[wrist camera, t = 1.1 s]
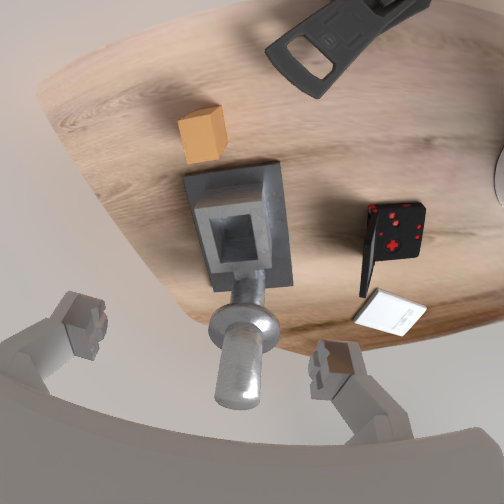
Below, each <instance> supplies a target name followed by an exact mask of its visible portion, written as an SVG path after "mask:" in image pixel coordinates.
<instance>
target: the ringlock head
mask: <svg viewBox="0 0 504 504" xmlns="http://www.w3.org/2000/svg"><path fill="white" fill-rule="evenodd" d="M183 181H184V185H185V188H186V192H187V196H188V200H189V204H190V208H191V212H192V215H193V219H194V223H195V227H196V230H197V234H198V238H199V241H200V245H201V249H202V252H203V256H204V259H205V263H206V266H207V270H208V273H209V277H210V280H211V284H212V287H213V290H214V292H225V291H232V292H231V298H230V304H227V305H224V306H222V307H220V308H219V309H217V310H216V311H215V312H214V313H213V315H212V317H211V319H210V323H209V329H208V332H209V336H210V338H211V340H212V342H213V343H214V344H215V345H216V346H217V347H219V348H220V349H222V353H221V360H220V366H219V372H218V378H217V385H216V391H215V401H216V402H217V403H218V404H220V405H221V406H223V407H226V408H229V409H233V410H248V409H252V408H254V407H256V406H257V405H258V404H259V403H260V387H261V366H262V354H263V353H266V352H268V351H270V350H271V349H272V348H274V347H275V346H276V344H277V343H278V341H279V338H280V325H279V321H278V319H277V318H276V316H275V315H274V314H273V313H272V312H271V311H270V310H268V309H267V308H265V307H264V303H265V288H276V287H288V286H293V275H292V264H291V254H290V244H289V235H288V226H287V217H286V208H285V199H284V191H283V182H282V174H281V166H280V161H278V162H269V163H260V164H252V165H244V166H237V167H230V168H223V169H216V170H209V171H203V172H197V173H191V174H185V175H184V176H183Z"/></svg>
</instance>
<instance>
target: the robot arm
mask: <svg viewBox="0 0 504 504" xmlns="http://www.w3.org/2000/svg"><path fill="white" fill-rule="evenodd" d="M495 190H496V194H497V198H498V200H499V202H500V203H501V205H502V206H503V207H504V149H503V151H502V153H501V155H500V157H499V160H498V163H497V167H496V172H495ZM105 308H106V307H105V302H104V301H103V300H101V299H97V298H93V297H90V296H87V295H83V294H79V293H76V292H72V291H68V292H67V293H66V294H65V295H64V297H63V298H62V300H61V301H60V303H59V304H58V306H57V307H56V309H55V310H54V312H53V314H52V315H51V317H50V318H49V319H48V318H45V319H43V320H41V321H40V322H38V323H36V324H34V325H32V326H30V327H28V328H26V329H24V330H22V331H21V332H19V333H17V334H15V335H13V336H11V337H9V338H8V339H6V340H4V341H2V342H1V343H0V504H504V456H503V453H502V450H501V448H500V446H499V445H498V444H497V443H496V442H495V441H494V440H493V439H492V438H491V437H490V436H489V435H488V434H487V433H486V432H485V431H484V430H483V429H481V428H479V427H474V428H468V429H464V430H460V431H455V432H451V433H446V434H441V435H435V436H429V437H422V438H416V439H414V437H413V433H412V430H411V425H410V422H409V418H408V415H407V412H406V411H405V410H404V409H403V408H402V407H401V406H400V405H399V404H398V403H397V402H396V401H395V400H394V399H393V398H392V397H391V396H390V395H389V394H388V393H387V392H386V391H385V390H384V389H383V388H382V387H381V386H380V385H379V384H378V382H377V381H376V380H375V379H374V378H373V377H372V376H369V375H367V371H366V368H365V364H364V361H363V357H362V353H361V350H360V346H359V344H358V343H357V342H345V341H336V340H326V339H321V340H320V341H319V342H318V344H317V351H315V352H313V353H312V355H311V357H310V360H309V365H308V372H309V376H310V377H311V379H312V380H313V381H312V382H311V384H310V390H311V399H317V400H331V401H332V403H333V404H334V406H335V407H336V409H337V410H338V412H339V413H340V414H341V416H342V417H343V419H344V420H345V422H346V423H347V424H348V426H349V427H350V429H351V430H352V431H353V433H354V434H355V435H354V436H353V437H352V438H351V439H350V440H349V441H347V442H346V443H345V445H325V446H306V445H279V444H263V443H251V442H241V441H231V440H224V439H217V438H209V437H203V436H197V435H191V434H185V433H180V432H175V431H170V430H165V429H160V428H156V427H152V426H147V425H143V424H139V423H135V422H131V421H127V420H124V419H120V418H117V417H113V416H110V415H107V414H103V413H100V412H97V411H94V410H91V409H87V408H85V407H82V406H79V405H76V404H73V403H70V402H68V401H65V400H62V399H60V398H57V397H55V396H52V395H50V393H49V391H48V389H47V387H46V385H45V384H44V382H43V381H44V380H45V379H46V378H48V377H49V376H50V375H51V374H53V373H54V372H55V371H57V370H58V369H59V368H60V367H62V366H63V365H64V364H66V363H67V362H68V361H69V360H71V359H72V358H73V357H74V356H78V357H81V358H85V359H88V360H92V361H94V359H95V357H96V354H97V352H98V350H99V344H98V342H99V341H101V340H103V339H104V336H105V334H106V330H107V323H108V320H107V316H106V314H105V313H104V310H105Z"/></svg>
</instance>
